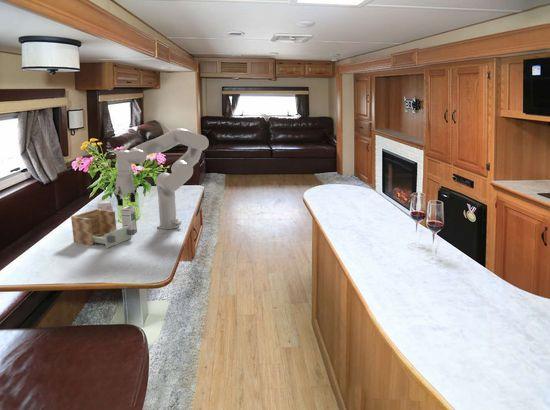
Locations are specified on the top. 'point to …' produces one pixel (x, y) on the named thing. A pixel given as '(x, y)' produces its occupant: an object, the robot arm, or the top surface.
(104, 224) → the bay
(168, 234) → the top surface
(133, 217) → the syrup box
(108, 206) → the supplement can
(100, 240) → the tray
